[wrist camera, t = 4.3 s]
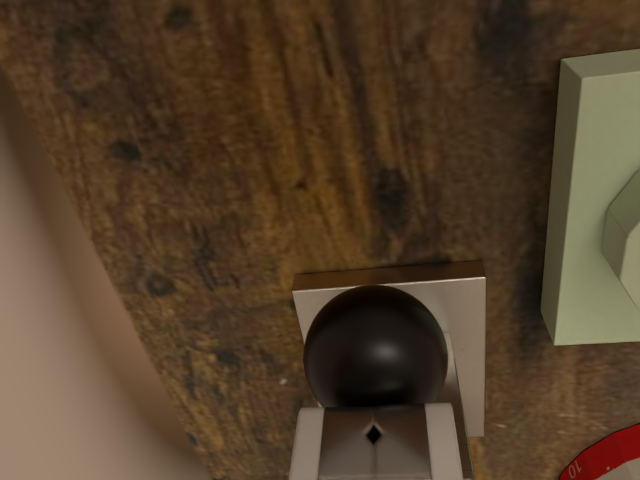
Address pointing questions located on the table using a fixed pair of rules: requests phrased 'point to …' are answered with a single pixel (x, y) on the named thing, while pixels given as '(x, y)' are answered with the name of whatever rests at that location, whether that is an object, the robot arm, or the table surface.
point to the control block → (595, 203)
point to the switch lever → (375, 350)
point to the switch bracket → (452, 315)
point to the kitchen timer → (609, 459)
